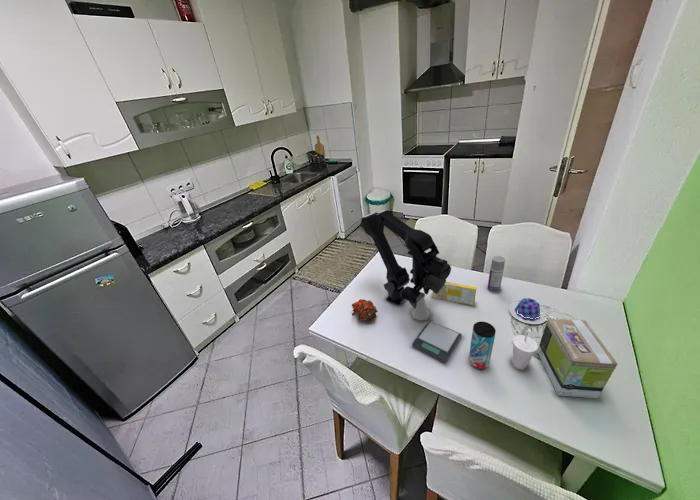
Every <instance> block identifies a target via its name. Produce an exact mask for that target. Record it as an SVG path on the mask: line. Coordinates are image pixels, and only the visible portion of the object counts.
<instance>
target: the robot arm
mask: <svg viewBox="0 0 700 500" xmlns="http://www.w3.org/2000/svg"><path fill="white" fill-rule="evenodd" d="M360 226H361V228H362V230H363V231H364V232H365V234H366V235H368V236H369V237H371V238H372V240H373V242H374V244H375V247H376V249H377V251H378V253H379V256H380V257H381V259H382V262H383V264H384V266H385V269H386V281H387V282H386V283H384V284H383V288H384V290H385V291H387V297H386V299H385V300H386V301H388V302H390V303H393V304H395V305H397V306H400V305H401V304H402V302H404V301H407V302H408V303H409V304H410V305H411V307H412V309H414V308H415V309H416V307H417V302H418V301H419V300H420V299H421V292H422V291H421V290H423V293H424V294H425V295H428V294H429V292H430V291H432V293H433V292H434V293H436V294H438V293H439V292H440V290H441V289H442V288H443V286H444V284H445V283H446V282H447V279H448V278H449V276H450V274H451V272H452V267H451V265H450V264H449V263H448V261H447V259H443V258H440V257H438V256H437V255H439V254H440V251H439V249H438V246H437V245H436V243H435V242H434V239H433V237H432V236H431V235H430V234H429V233H427V232H425V231H423V230H421V229H415V228H413V227H411V226H409V225H408V224H407V223H405V222H404V221H402V220H401V219H400V218H399V217H396V216H395V215H394V214H392V212H391V211H390V210H389V209H384V210H382V211H379V212H378V211H374V212H372V213H370V214H369V213H368V214H367V215H365V216H363V217H362V218H361V220H360ZM385 228H387V229H388V230H389V231H390V232H392V233H393V234H395V235H396V236H398V237H399V238H400V239H401V240H402V241H404V244H405V247H406V249H408V250H409V251H407V252H406V253H407V254H408V255H409V256H412V257H411V261H412V262H411V263H412V266H411V267H412V268H411V269H410V271H409V273H410V274H412V277H411V279H410V274H409V273H408V271H407V268H406V267H402V266H401V265H399V262H398V261H397V259H396V256H395V254H394V252H393V249H392V247H391V246H390V243H389V241H388V239H387V237H386V235H385V232H384V231H385ZM428 250H429V251H428ZM409 283H411V284H413V285H414V286H413V287H411V286H408V284H409ZM405 286H406V287H405Z"/></svg>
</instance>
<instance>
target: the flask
mask: <svg viewBox="0 0 700 500" xmlns="http://www.w3.org/2000/svg"><path fill="white" fill-rule="evenodd" d="M420 292H421V299H420V300H419V301H418V302H417V307H416V309H415V308H412V311H411V313H410V314H411V316H412V318H413V320H418V321H426V320H429V318H430V316H431V312H430V310H429V308H428V306H427V304H426V300H425V297H426V294H425V293H424V292H422V291H420Z"/></svg>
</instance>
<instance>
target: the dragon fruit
mask: <svg viewBox="0 0 700 500" xmlns="http://www.w3.org/2000/svg"><path fill="white" fill-rule="evenodd" d="M351 307H352V309H353V310H352V312H351V316H352V317H354V316H358V320H360V321H361V322H363V321H367V322H370V321H371V320H375V319H376V318H377V313H378V312H379V311H378V309H377V307H376V306H375V305H374V303H373V301H371V300H369V299H368V300H367V299H361V298H360V299H358V301H355V302H353V303H352V304H351Z"/></svg>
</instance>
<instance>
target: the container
mask: <svg viewBox="0 0 700 500" xmlns="http://www.w3.org/2000/svg"><path fill="white" fill-rule="evenodd" d="M505 264H506V259H505V257H503V256H502V255H501V256H500V255H495V256H493V257H492V258H491V263H490V269H489V275H488V280H487V290H488V291H489V292H491V293H500V291H501V285H502V281H503V276H504V270H505Z"/></svg>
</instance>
